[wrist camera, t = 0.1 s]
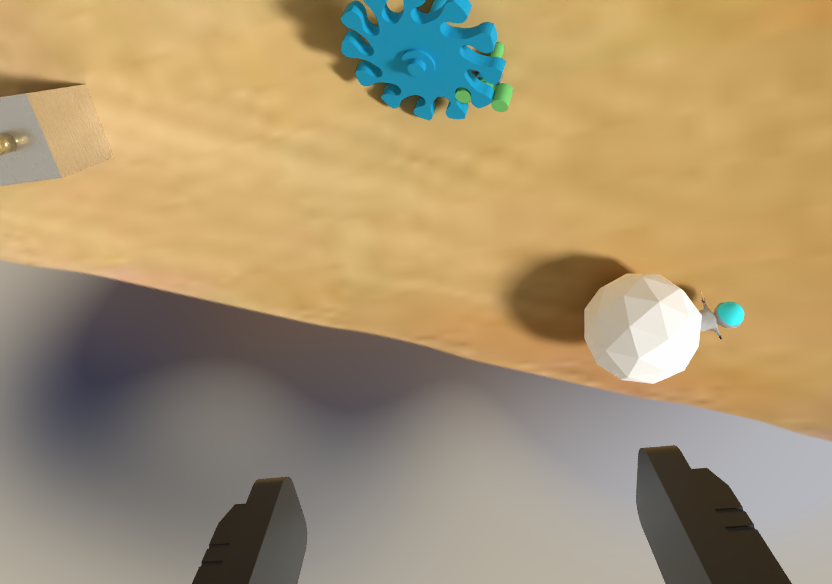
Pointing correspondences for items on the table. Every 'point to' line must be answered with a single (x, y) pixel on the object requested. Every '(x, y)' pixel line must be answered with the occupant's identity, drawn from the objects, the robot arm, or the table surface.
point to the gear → (427, 56)
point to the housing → (49, 135)
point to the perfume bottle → (649, 327)
